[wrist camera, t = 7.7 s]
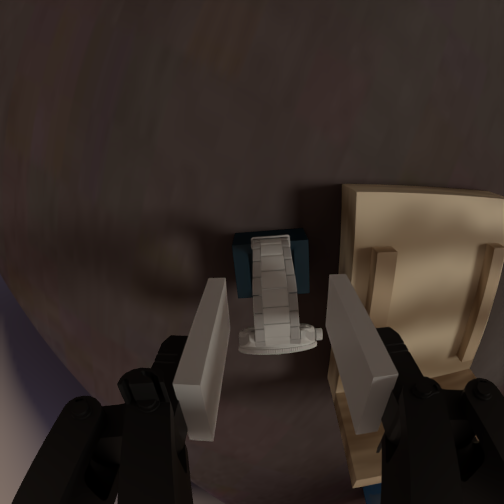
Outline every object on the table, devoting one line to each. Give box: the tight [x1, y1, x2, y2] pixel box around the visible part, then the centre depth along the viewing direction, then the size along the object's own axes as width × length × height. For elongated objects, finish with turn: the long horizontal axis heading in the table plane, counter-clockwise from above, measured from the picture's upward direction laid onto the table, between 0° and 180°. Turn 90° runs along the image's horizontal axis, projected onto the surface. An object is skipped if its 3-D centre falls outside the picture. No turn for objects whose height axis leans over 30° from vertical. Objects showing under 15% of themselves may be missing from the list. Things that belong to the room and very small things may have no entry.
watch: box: [232, 228, 323, 355], centre depth 21 cm, size 6×8×11 cm
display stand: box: [327, 184, 504, 488], centre depth 20 cm, size 20×16×14 cm
